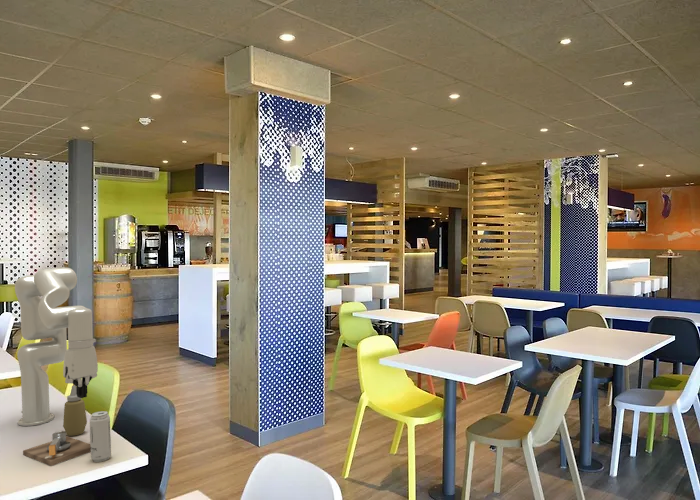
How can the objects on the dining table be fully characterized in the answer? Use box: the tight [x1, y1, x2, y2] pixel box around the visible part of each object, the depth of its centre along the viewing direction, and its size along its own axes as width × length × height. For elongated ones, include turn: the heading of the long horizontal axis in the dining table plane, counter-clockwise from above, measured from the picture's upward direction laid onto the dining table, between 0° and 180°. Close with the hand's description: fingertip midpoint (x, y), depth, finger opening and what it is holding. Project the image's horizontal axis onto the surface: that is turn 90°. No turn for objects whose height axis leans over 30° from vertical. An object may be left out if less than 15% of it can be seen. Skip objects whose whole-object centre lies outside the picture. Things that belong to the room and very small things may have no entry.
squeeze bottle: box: [62, 384, 88, 437], centre depth 199 cm, size 8×8×18 cm
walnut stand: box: [22, 435, 91, 467], centre depth 181 cm, size 18×15×2 cm
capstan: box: [47, 430, 70, 456], centre depth 177 cm, size 13×7×5 cm, turn 18°
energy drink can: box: [89, 410, 112, 463], centre depth 174 cm, size 6×6×15 cm
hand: (82, 396), depth 183 cm, fingers closed
